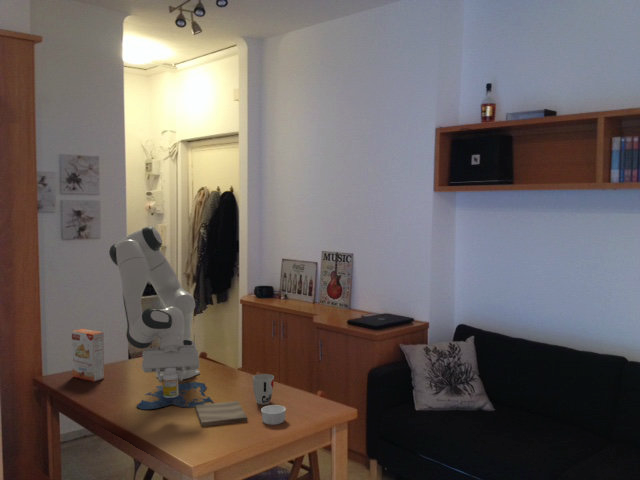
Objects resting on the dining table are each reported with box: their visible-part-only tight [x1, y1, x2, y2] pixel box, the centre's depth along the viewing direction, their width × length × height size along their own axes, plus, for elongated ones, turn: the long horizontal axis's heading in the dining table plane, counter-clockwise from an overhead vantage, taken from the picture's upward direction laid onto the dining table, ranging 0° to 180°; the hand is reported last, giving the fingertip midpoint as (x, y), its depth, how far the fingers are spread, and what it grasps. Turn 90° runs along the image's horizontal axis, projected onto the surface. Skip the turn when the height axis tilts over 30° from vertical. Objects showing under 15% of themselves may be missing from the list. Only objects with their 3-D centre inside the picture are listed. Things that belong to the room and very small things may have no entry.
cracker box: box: [71, 328, 105, 382], centre depth 256 cm, size 14×6×21 cm, turn 60°
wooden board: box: [194, 400, 248, 427], centre depth 212 cm, size 18×16×2 cm
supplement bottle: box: [162, 368, 180, 398], centre depth 209 cm, size 5×5×10 cm
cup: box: [252, 373, 275, 405], centre depth 226 cm, size 8×8×10 cm
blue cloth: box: [136, 381, 214, 410], centre depth 234 cm, size 27×29×1 cm
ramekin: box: [260, 404, 287, 426], centre depth 207 cm, size 9×9×4 cm
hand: (170, 380), depth 208 cm, fingers closed on supplement bottle, 5 cm apart
